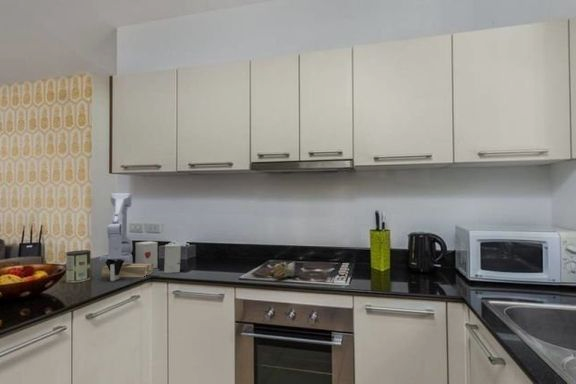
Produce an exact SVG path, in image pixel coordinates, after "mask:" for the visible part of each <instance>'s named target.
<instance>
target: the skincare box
mask: <svg viewBox="0 0 576 384" xmlns="http://www.w3.org/2000/svg"><path fill="white" fill-rule="evenodd" d="M181 247H182V245H181V243H180V244H177V243H176V244H169V243H168V244H165V246H164V266H163V267H164V269H163V273H164V274H170V273H171V274H172V273H180V272H181V271H180V270H181V253H182V252H181V250H182V248H181Z"/></svg>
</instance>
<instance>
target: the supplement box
mask: <svg viewBox="0 0 576 384" xmlns="http://www.w3.org/2000/svg"><path fill="white" fill-rule="evenodd" d="M158 251H159V250H158V241H140V242H135V263H153V269H157V268H158Z"/></svg>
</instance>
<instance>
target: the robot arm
mask: <svg viewBox="0 0 576 384" xmlns="http://www.w3.org/2000/svg"><path fill="white" fill-rule="evenodd" d="M132 198H133V197H132V193H131V192H111V194H110V203H111V204H112V206H113V207H114V209H113V210H114V212H113V213H111V216H110V220H109V224H107V228H106V233H107V239H108V255H101V256H99V261H105V264H106V265H105V266H108V268H109V271H110V264H113V263H114V264H115V274H116V275H119V273H120V269H121V267H122V264H123V263H133V255H132V252H133V239H132V238H131V237H129V236H128V209H129V208H131V207H132Z"/></svg>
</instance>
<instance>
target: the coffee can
mask: <svg viewBox="0 0 576 384" xmlns="http://www.w3.org/2000/svg"><path fill="white" fill-rule="evenodd" d="M91 252H92V251H91V250H88V249H87V250H86V249H85V250H84V249H83V250H82V249H81V250H73V251H67V252H66V253H65V254H66V257H65V259H66V261H65V262H66V264H65V265H66V267H65V268H66V269H65V270H66V271H65V272H66V281H65V282H66V283H71V284H72V283H73V284H74V283H81V282H87V281H89V280H91Z"/></svg>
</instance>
